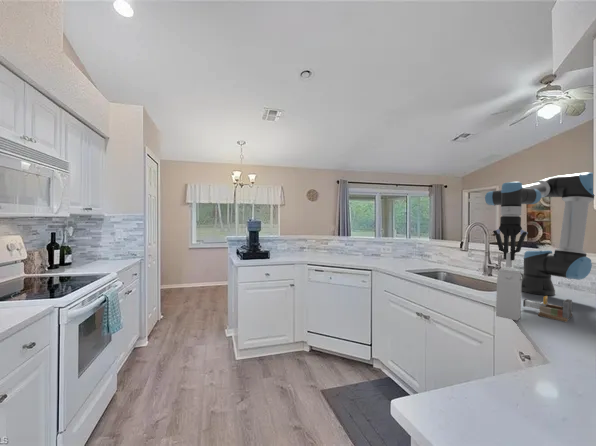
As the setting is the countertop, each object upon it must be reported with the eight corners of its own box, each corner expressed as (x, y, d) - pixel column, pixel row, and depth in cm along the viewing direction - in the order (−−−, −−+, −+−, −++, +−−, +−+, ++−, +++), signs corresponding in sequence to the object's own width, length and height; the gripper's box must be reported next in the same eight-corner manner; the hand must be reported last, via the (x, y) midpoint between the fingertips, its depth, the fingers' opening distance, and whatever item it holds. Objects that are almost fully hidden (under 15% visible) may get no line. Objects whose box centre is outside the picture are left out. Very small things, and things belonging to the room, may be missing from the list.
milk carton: (499, 312, 118) (500, 268, 117) (520, 316, 113) (521, 270, 112) (495, 316, 113) (497, 270, 112) (517, 321, 108) (519, 272, 107)
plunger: (525, 305, 124) (525, 292, 124) (547, 309, 118) (548, 295, 118) (522, 306, 122) (523, 293, 122) (545, 311, 116) (545, 297, 115)
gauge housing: (545, 310, 122) (545, 294, 122) (572, 315, 115) (572, 299, 115) (538, 315, 114) (538, 298, 114) (566, 321, 108) (567, 304, 108)
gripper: (491, 215, 130) (489, 265, 130) (526, 215, 119) (524, 270, 120) (496, 216, 134) (495, 264, 135) (530, 216, 124) (529, 268, 124)
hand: (508, 267), depth 127 cm, fingers closed
